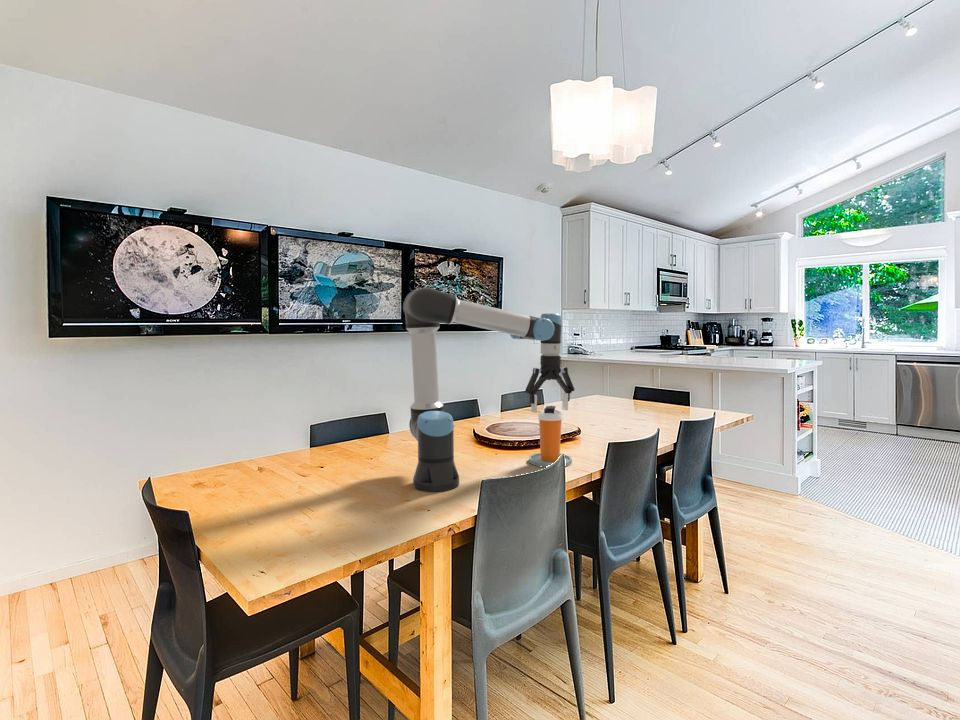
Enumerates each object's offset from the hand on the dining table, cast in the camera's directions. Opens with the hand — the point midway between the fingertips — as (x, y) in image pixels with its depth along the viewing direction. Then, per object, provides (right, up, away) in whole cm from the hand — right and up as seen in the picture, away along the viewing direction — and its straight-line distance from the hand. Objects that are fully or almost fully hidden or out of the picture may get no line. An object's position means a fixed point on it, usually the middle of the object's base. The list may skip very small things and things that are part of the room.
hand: (549, 411), depth 192 cm
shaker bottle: (0, -19, +1) cm, 19 cm away
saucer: (0, -20, +2) cm, 20 cm away
